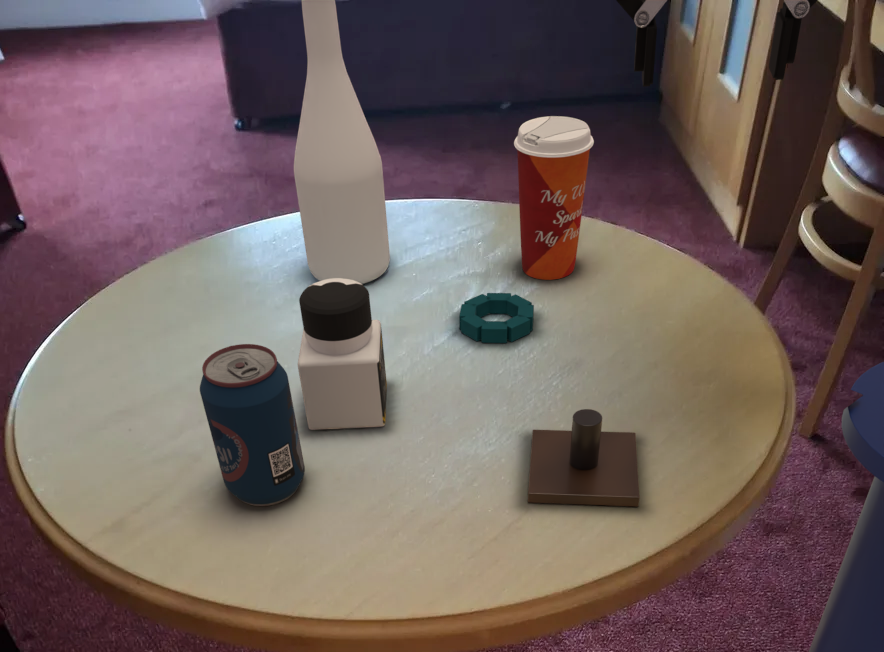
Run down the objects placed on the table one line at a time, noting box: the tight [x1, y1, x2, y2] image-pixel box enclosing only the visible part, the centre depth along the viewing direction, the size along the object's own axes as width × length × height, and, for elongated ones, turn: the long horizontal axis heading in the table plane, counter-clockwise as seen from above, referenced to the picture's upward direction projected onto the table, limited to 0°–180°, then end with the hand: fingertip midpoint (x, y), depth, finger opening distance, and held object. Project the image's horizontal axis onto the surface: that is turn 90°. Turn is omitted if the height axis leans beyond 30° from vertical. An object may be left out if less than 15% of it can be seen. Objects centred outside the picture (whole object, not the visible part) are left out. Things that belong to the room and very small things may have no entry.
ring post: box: [527, 408, 641, 508], centre depth 76 cm, size 9×9×6 cm
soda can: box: [199, 343, 306, 507], centre depth 74 cm, size 7×7×12 cm
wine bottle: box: [293, 0, 391, 285], centre depth 96 cm, size 10×10×30 cm
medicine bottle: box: [297, 278, 388, 431], centre depth 82 cm, size 7×7×12 cm
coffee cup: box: [513, 115, 595, 281], centre depth 99 cm, size 8×8×15 cm
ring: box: [458, 292, 535, 344], centre depth 95 cm, size 8×8×2 cm
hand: (710, 77), depth 70 cm, fingers open, 9 cm apart
